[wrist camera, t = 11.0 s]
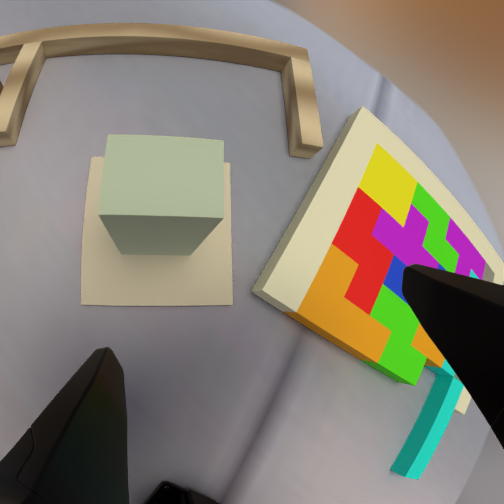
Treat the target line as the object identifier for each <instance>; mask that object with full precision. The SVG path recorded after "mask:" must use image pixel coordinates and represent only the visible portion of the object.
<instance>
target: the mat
mask: <svg viewBox="0 0 504 504" xmlns="http://www.w3.org/2000/svg"><path fill="white" fill-rule="evenodd" d="M104 158H105V157H92V158H91V165H90V171H89V179H88V186H87V194H86V204H85V214H84V225H83V240H82V260H81V305H113V306H204V305H233V291H232V252H231V199H230V163H224V219H223V220H222V221H221V222H220V223H219V224H218V225H217V226H216V227H215V229H214V230H213V231H212V232H211V233H210V234H209V235H208V236H207V237H206V239H205V240H204V241H203V242H202V243H201V244H200V245H199V246H198V248H197V249H196V250H195V251H194V252H193V253H192V254H191V256H189V255H124V254H121V253H120V252H119V250H118V248H117V247H116V245H115V243H114V242H113V240H112V238H111V236H110V235H109V233H108V231H107V230H106V228H105V226H104V224H103V222H102V221H101V219H100V217H99V215H98V209H99V199H100V189H101V180H102V173H103V165H104Z"/></svg>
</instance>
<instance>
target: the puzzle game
mask: <svg viewBox="0 0 504 504" xmlns="http://www.w3.org/2000/svg"><path fill="white" fill-rule="evenodd" d="M412 264H420V265H424V266H428V267H433V268H437V269H441V270H445V271H449V272H453V273H457V274H461V275H465V276H469V277H473V278H477V279H481V280H485V281H489V282H492V283H496V284H500V285H503V280H504V263H503V262H502V260H501V259H500V257H499V256H498V254H497V253H496V251H495V250H494V248H493V247H492V246H491V244H490V243H489V241H488V240H487V239H486V237H485V236H484V235H483V233H482V232H481V230H480V229H479V228H478V226H477V225H476V224H475V223H474V221H473V220H472V219H471V217H470V216H469V215H468V214H467V212H466V211H465V210H464V209H463V207H462V206H461V205H460V204H459V203H458V201H457V200H456V199H455V198H454V197H453V195H452V194H451V193H450V192H449V191H448V190H447V188H446V187H445V186H444V185H443V184H442V183H441V182H440V180H439V179H438V178H437V177H436V176H435V175H434V174H433V173H432V172H431V171H430V170H429V168H428V167H427V166H426V165H425V164H424V163H423V162H422V161H421V160H420V159H419V158H418V157H417V156H416V155H415V154H414V153H413V152H412V151H411V150H410V149H409V148H408V147H407V146H406V145H405V144H404V143H403V142H402V141H401V140H400V139H399V138H398V137H397V136H396V135H395V134H394V133H393V132H391V131H390V130H389V129H388V128H387V127H386V126H385V125H384V124H383V123H382V122H381V121H379V120H378V119H377V118H376V117H375V116H374V115H373V114H372V113H370V112H369V111H368V110H367V109H366V108H365V107H363V106H362V107H360V108H359V109H358V110H357V111H356V112H355V113H353V114H352V115H351V116H350V117H349V118H348V120H347V122H346V124H345V126H344V128H343V129H342V131H341V133H340V135H339V137H338V139H337V140H336V142H335V144H334V146H333V148H332V149H331V151H330V153H329V155H328V157H327V158H326V160H325V162H324V164H323V166H322V167H321V169H320V171H319V173H318V175H317V176H316V178H315V180H314V182H313V184H312V185H311V187H310V189H309V191H308V193H307V194H306V196H305V198H304V200H303V201H302V203H301V205H300V207H299V208H298V210H297V212H296V214H295V216H294V217H293V219H292V221H291V223H290V224H289V226H288V228H287V230H286V231H285V233H284V235H283V237H282V238H281V240H280V242H279V244H278V245H277V247H276V249H275V251H274V252H273V254H272V256H271V258H270V259H269V261H268V263H267V265H266V266H265V268H264V270H263V271H262V273H261V275H260V277H259V278H258V280H257V282H256V283H255V285H254V287H253V289H252V290H251V292H252V293H254V294H256V295H257V296H259V297H260V298H262V299H263V300H265V301H266V302H268V303H270V304H271V305H273V306H274V307H276V308H277V309H279V310H281V311H282V312H284V313H285V314H287V315H289V316H290V317H292V318H293V319H295V320H296V321H298V322H300V323H301V324H303V325H304V326H306V327H308V328H309V329H311V330H312V331H314V332H316V333H317V334H319V335H321V336H322V337H324V338H325V339H327V340H329V341H330V342H332V343H334V344H335V345H337V346H339V347H340V348H342V349H343V350H345V351H347V352H348V353H350V354H352V355H353V356H355V357H357V358H358V359H360V360H362V361H363V362H365V363H367V364H368V365H370V366H372V367H373V368H375V369H377V370H379V371H380V372H382V373H384V374H385V375H387V376H389V377H390V378H392V379H394V380H396V381H397V382H401V383H405V384H409V385H414V386H416V383H417V381H418V379H419V376H420V374H421V372H422V369H423V367H424V366H426V367H427V368H429V369H430V370H432V371H433V372H435V373H436V374H437V376H436V379H435V381H434V384H433V386H432V388H431V391H430V393H429V395H428V397H427V400H426V402H425V404H424V406H423V408H422V411H421V413H420V415H419V417H418V419H417V421H416V423H415V425H414V427H413V429H412V431H411V433H410V435H409V437H408V439H407V440H406V442H405V444H404V446H403V448H402V450H401V451H400V453H399V455H398V457H397V458H396V460H395V462H394V464H393V465H392V467H391V469H390V470H392V471H394V472H396V473H398V474H400V475H402V476H404V477H407V478H412V479H418V480H419V478H420V476H421V474H422V473H423V471H424V469H425V468H426V466H427V464H428V462H429V460H430V459H431V457H432V455H433V453H434V451H435V449H436V447H437V445H438V443H439V441H440V439H441V437H442V435H443V433H444V431H445V429H446V427H447V425H448V423H449V420H450V418H451V416H452V414H453V412H455V413H460V414H465V412H466V409H467V407H468V405H469V402H470V400H471V395H470V394H469V392H468V391H467V389H466V388H465V387H464V385H463V384H462V382H461V381H460V379H459V378H458V376H457V375H456V373H455V372H454V371H453V369H452V368H451V366H450V365H449V364H448V362H447V361H446V359H445V358H444V357H443V355H442V354H441V352H440V351H439V350H438V348H437V347H436V346H435V344H434V343H433V342H432V340H431V339H430V338H429V336H428V335H427V333H426V332H425V330H424V329H423V327H422V326H421V324H420V322H419V321H418V319H417V318H416V316H415V314H414V313H413V311H412V309H411V308H410V306H409V305H408V303H407V301H406V300H405V298H404V297H403V294H402V278H403V270H404V268H405V267H406V266H409V265H412Z"/></svg>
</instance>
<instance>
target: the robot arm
mask: <svg viewBox="0 0 504 504" xmlns="http://www.w3.org/2000/svg"><path fill="white" fill-rule="evenodd" d="M402 294H403V297H404V298H405V300H406V301H407V303H408V305H409V306H410V308H411V309H412V311H413V313H414V314H415V316H416V318H417V319H418V321H419V322H420V324H421V326H422V327H423V329H424V330H425V332H426V333H427V335H428V336H429V338H430V339H431V340H432V342H433V343H434V344H435V346H436V347H437V348H438V350H439V351H440V352H441V354H442V355H443V357H444V358H445V359H446V361H447V362H448V364H449V365H450V366H451V368H452V369H453V371H454V372H455V373H456V375H457V376H458V378H459V379H460V381H461V382H462V384H463V385H464V387H465V388H466V389H467V391H468V392H469V394H470V395H471V397H472V398H473V400H474V402H475V403H476V405H477V406H478V408H479V409H480V411H481V412H482V414H483V415H484V417H485V419H486V420H487V422H488V423H489V425H490V426H491V428H492V430H493V432H494V434H495V435H496V437H497V438H498V440H499V442H500V443H501V445H502V447H503V449H504V285H500V284H496V283H492V282H489V281H485V280H481V279H477V278H473V277H469V276H465V275H461V274H457V273H453V272H449V271H445V270H441V269H437V268H433V267H428V266H424V265H420V264H412V265H409V266H406V267H405V268H404V270H403V278H402ZM165 486H168V487H169V488H164V487H165ZM0 504H129V489H128V464H127V410H126V398H125V385H124V373H123V369H122V367H121V365H120V363H119V362H118V360H117V358H116V356H115V355H114V353H113V351H112V350H111V349H110V348H109V347H105V348H100V349H97V350H95V352H94V353H93V354H92V355H91V356H90V357H89V358H88V359H87V361H86V362H85V363H84V364H83V365H82V366H81V367H80V368H79V370H78V371H77V372H76V373H75V374H74V375H73V376H72V378H71V379H70V380H69V381H68V382H67V383H66V385H65V386H64V387H63V388H62V389H61V390H60V392H59V393H58V394H57V395H56V396H55V397H54V399H53V400H52V401H51V402H50V403H49V405H48V406H47V407H46V408H45V409H44V411H43V412H42V413H41V414H40V415H39V417H38V418H37V419H36V420H35V421H34V423H33V424H32V425H31V428H29V429H28V430H27V431H26V433H25V434H24V435H23V436H22V437H21V439H20V440H19V441H18V442H17V443H16V445H15V446H14V447H13V448H12V449H11V450H10V451H9V453H8V454H7V455H6V456H5V457H4V458H3V459H2V460H1V461H0ZM144 504H218V503H216V501H215V500H212V499H210V498H207V497H205V496H203V495H200V494H198V493H195V492H193V491H191V490H188V491H187V490H185V489H183V488H180V487H178V486H176V485H174V484H172V483H170V482H162V483H161V484H160V485H159V486H158V488H157V489H156V490H155V491H154V492H153V494H152V495H151V496H150V497H149V498H148V499H147V501H146V502H145V503H144Z"/></svg>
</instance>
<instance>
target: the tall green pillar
mask: <svg viewBox="0 0 504 504" xmlns="http://www.w3.org/2000/svg"><path fill="white" fill-rule="evenodd" d="M98 215H99V217H100V219H101V221H102V222H103V224H104V226H105V228H106V230H107V231H108V233H109V235H110V236H111V238H112V240H113V242H114V243H115V245H116V247H117V248H118V250H119V252H120V253H121V254H124V255H189V256H191V254H192V253H193V252H194V251H195V250H196V249H197V248H198V246H199V245H200V244H201V243H202V242H203V241H204V240H205V239H206V237H207V236H208V235H209V234H210V233H211V232H212V231H213V230H214V229H215V227H216V226H217V225H218V224H219V223H220V222H221V221H222V220H223V219H224V141H223V140H212V139H201V138H188V137H172V136H153V135H114V134H108V139H107V145H106V151H105V158H104V165H103V173H102V180H101V189H100V199H99V209H98Z"/></svg>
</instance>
